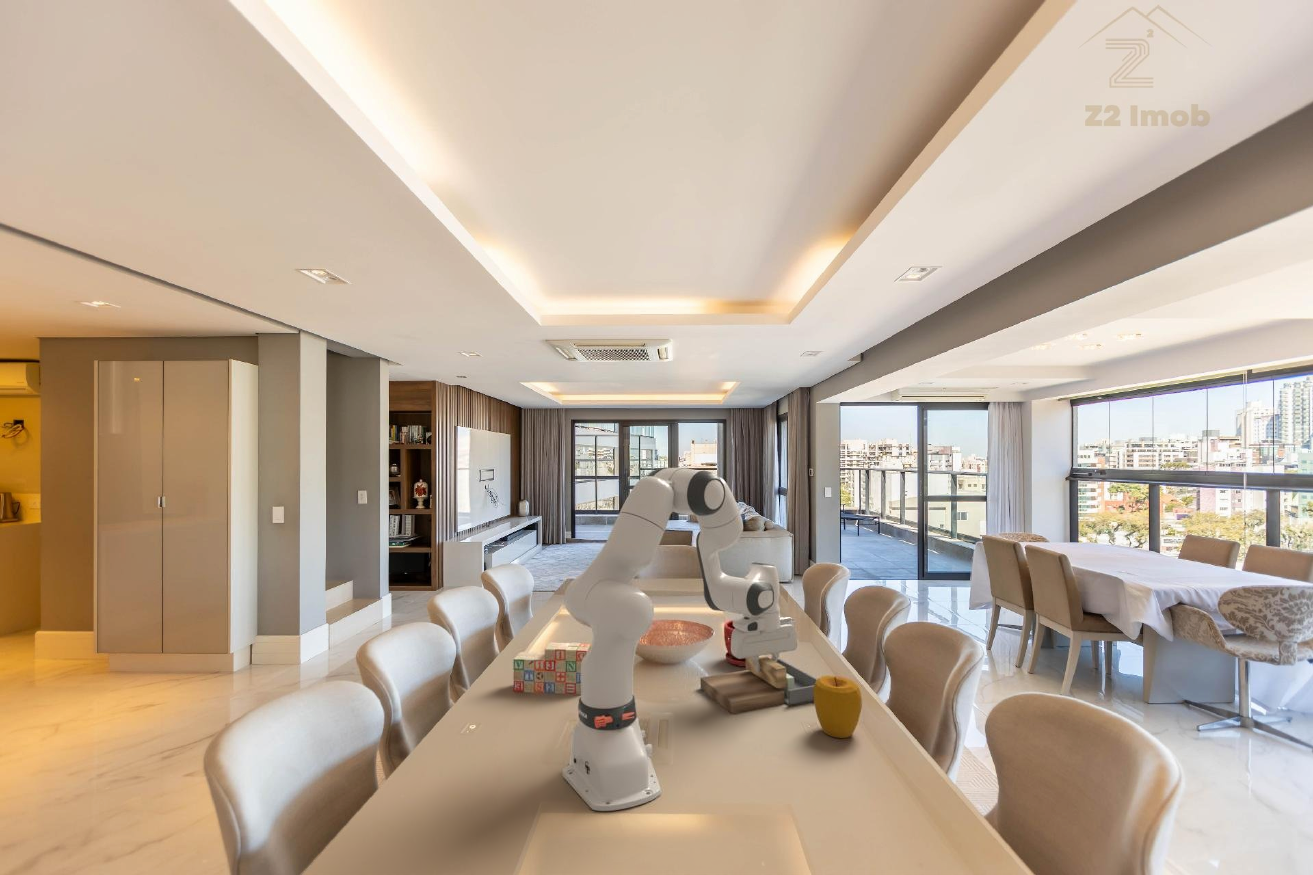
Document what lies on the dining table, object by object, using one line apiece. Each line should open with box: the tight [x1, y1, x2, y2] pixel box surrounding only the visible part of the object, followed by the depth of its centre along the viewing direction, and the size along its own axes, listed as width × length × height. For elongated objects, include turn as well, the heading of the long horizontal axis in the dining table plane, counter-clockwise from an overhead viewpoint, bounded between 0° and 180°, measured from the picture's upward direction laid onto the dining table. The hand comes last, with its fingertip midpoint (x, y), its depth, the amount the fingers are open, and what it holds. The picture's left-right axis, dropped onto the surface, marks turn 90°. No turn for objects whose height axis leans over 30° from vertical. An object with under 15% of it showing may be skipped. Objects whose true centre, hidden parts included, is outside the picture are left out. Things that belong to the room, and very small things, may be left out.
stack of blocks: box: [512, 642, 592, 695], centre depth 159 cm, size 21×6×12 cm, turn 85°
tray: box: [745, 658, 818, 707], centre depth 158 cm, size 22×12×4 cm, turn 22°
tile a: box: [779, 673, 794, 697], centre depth 153 cm, size 5×5×2 cm
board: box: [700, 669, 786, 715], centre depth 153 cm, size 18×16×3 cm
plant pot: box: [723, 619, 746, 667], centre depth 180 cm, size 13×13×12 cm
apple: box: [813, 675, 863, 739], centre depth 131 cm, size 11×11×13 cm
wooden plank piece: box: [745, 655, 787, 688], centre depth 156 cm, size 16×3×5 cm, turn 22°
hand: (765, 669), depth 156 cm, fingers closed on wooden plank piece, 3 cm apart
